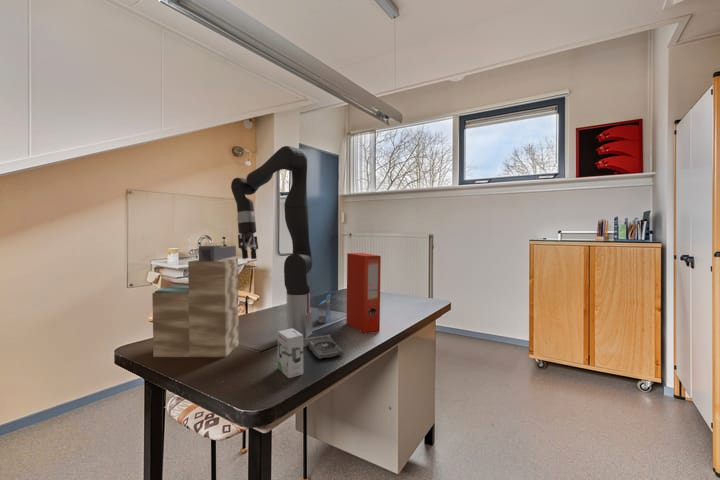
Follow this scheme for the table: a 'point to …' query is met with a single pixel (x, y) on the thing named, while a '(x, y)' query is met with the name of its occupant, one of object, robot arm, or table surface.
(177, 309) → the stand
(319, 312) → the label tape cartridge
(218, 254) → the plug bar
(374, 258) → the file binder
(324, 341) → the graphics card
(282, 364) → the ink box
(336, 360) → the table surface
